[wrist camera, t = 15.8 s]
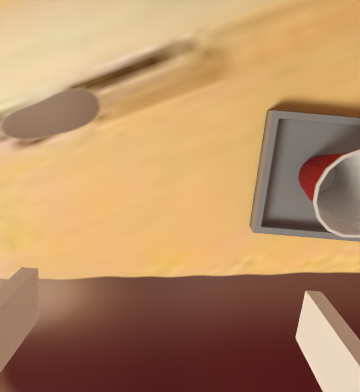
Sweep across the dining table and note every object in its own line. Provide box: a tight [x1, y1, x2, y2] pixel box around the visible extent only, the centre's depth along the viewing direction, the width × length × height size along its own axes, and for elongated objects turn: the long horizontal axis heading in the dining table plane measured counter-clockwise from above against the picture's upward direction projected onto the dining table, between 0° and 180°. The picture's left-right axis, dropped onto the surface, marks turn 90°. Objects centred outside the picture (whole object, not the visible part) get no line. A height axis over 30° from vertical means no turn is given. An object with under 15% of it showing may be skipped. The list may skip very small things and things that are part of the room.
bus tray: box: [250, 110, 360, 242], centre depth 45 cm, size 18×18×3 cm
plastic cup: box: [298, 149, 360, 238], centre depth 39 cm, size 11×11×12 cm
